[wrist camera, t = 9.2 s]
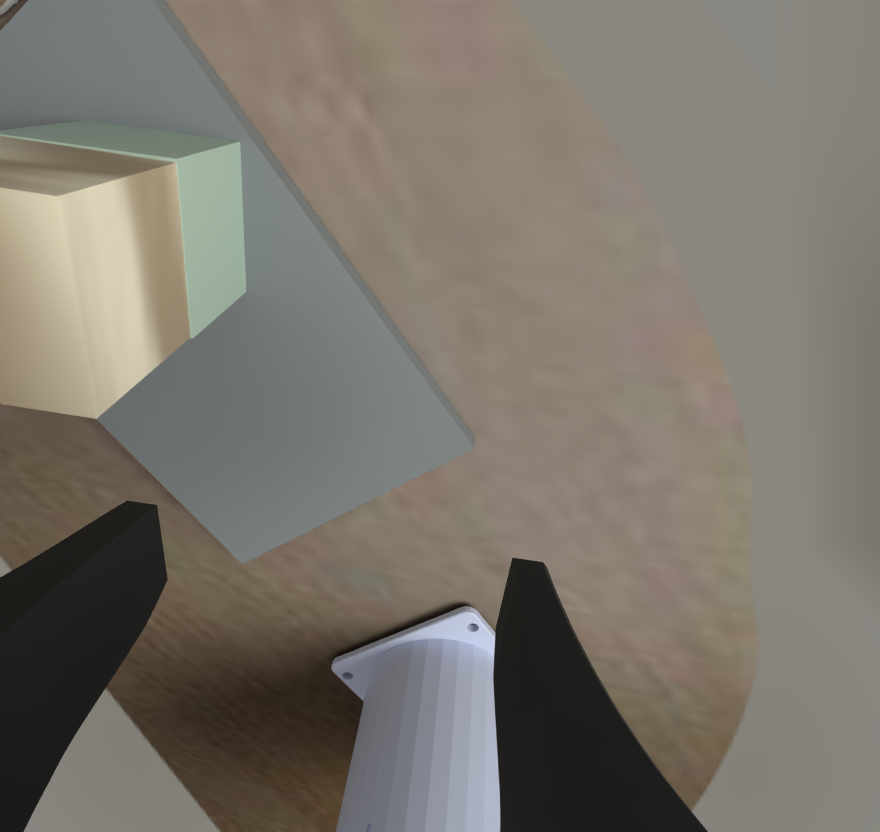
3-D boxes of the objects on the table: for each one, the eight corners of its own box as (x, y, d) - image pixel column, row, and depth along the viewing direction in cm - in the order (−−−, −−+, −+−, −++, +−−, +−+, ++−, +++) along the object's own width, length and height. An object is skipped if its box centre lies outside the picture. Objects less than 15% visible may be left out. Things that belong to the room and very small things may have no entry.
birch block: (176, 162, 14) (57, 196, 10) (190, 337, 16) (96, 418, 13) (-11, 133, 14) (-198, 157, 10) (28, 312, 16) (-114, 386, 13)
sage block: (240, 141, 18) (176, 158, 14) (246, 291, 20) (192, 338, 16) (86, 119, 18) (-14, 132, 14) (109, 272, 20) (27, 315, 16)
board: (474, 436, 23) (474, 448, 22) (248, 551, 27) (242, 564, 26) (115, -70, 16) (97, -76, 15) (-119, 180, 20) (-141, 184, 19)
